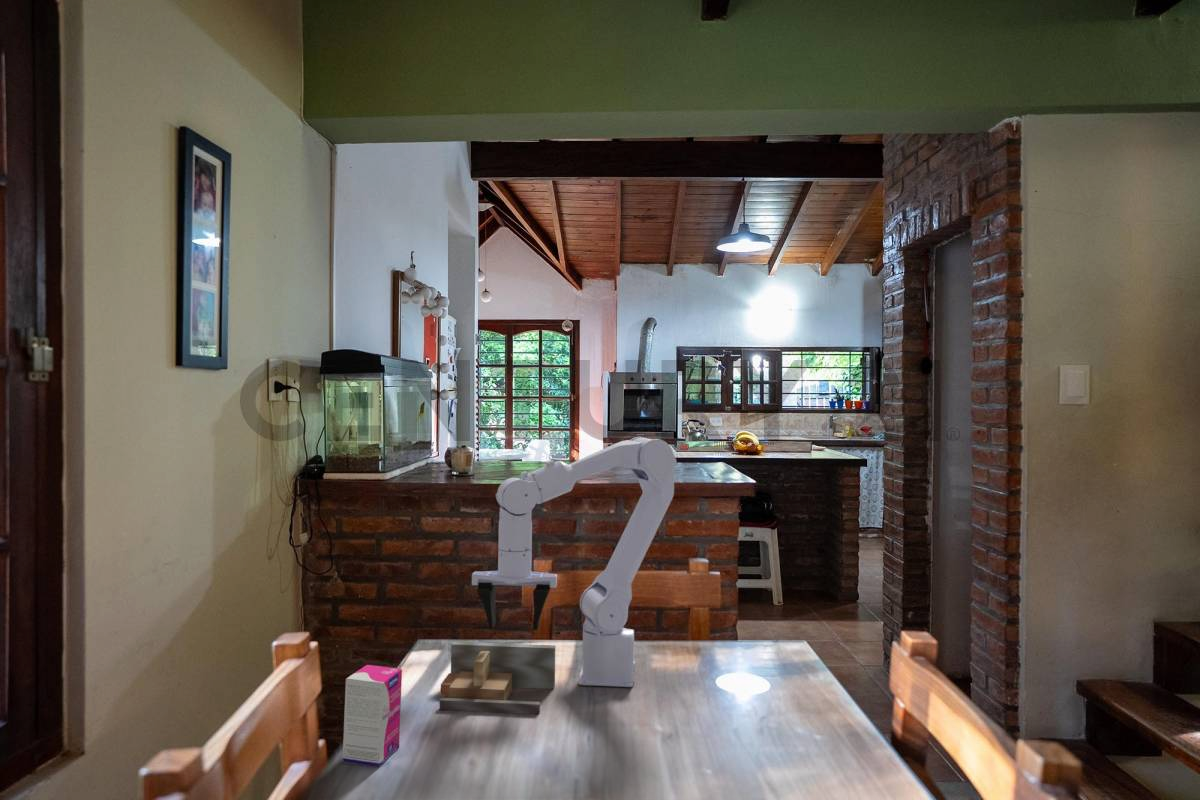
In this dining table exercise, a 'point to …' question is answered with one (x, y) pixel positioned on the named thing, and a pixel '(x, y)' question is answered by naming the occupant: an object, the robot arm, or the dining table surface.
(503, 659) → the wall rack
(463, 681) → the tan box with handle
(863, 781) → the dining table surface
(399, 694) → the supplement box
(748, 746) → the dining table surface
